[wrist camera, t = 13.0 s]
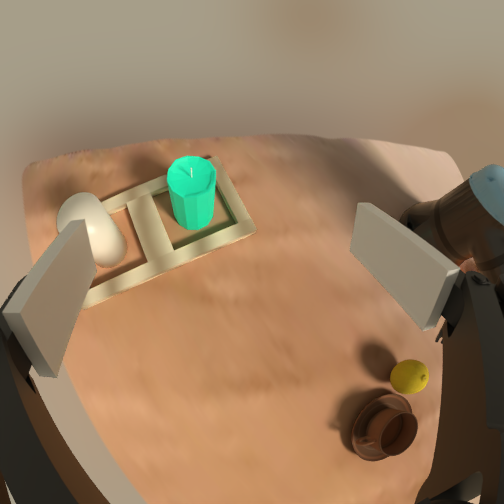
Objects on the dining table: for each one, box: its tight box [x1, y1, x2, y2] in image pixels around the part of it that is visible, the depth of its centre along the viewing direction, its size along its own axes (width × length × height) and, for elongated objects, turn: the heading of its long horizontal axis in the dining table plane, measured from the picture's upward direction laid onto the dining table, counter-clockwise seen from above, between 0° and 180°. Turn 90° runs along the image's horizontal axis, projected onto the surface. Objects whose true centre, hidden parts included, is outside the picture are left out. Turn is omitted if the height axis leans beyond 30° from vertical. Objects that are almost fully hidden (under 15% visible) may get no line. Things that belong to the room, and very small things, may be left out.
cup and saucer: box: [351, 394, 418, 461], centre depth 34 cm, size 12×12×6 cm
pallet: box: [59, 156, 257, 310], centre depth 40 cm, size 28×14×2 cm, turn 117°
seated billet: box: [57, 192, 127, 268], centre depth 33 cm, size 6×6×12 cm
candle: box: [167, 156, 216, 230], centre depth 37 cm, size 6×6×12 cm
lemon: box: [390, 360, 429, 394], centre depth 36 cm, size 6×6×8 cm
